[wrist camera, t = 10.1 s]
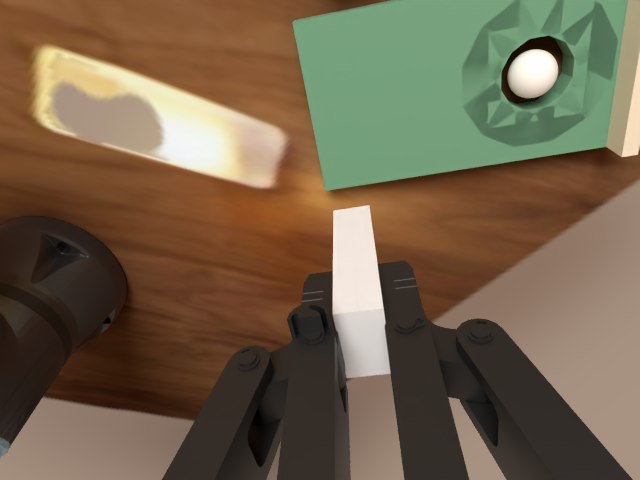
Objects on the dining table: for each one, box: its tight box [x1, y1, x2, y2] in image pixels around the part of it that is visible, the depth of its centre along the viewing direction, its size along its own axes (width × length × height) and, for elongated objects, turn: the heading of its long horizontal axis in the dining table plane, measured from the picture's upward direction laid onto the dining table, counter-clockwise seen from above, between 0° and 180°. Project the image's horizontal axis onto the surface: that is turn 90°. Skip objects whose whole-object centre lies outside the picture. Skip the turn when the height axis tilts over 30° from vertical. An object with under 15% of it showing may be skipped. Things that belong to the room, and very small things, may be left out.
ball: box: [507, 49, 558, 98], centre depth 35 cm, size 4×4×4 cm
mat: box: [293, 0, 640, 191], centre depth 35 cm, size 25×14×4 cm, turn 101°
